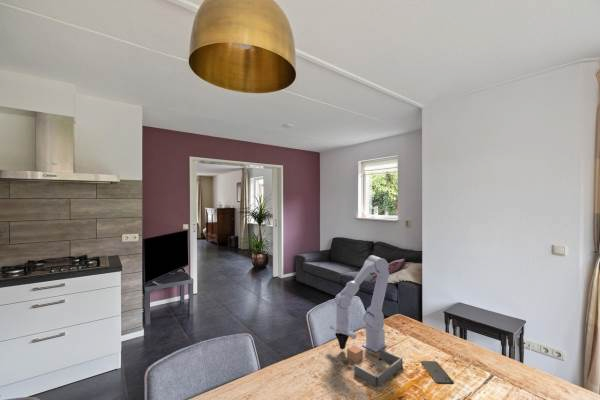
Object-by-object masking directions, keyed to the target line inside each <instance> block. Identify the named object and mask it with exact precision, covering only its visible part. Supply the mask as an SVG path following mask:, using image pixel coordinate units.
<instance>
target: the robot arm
mask: <svg viewBox="0 0 600 400" xmlns="http://www.w3.org/2000/svg"><path fill="white" fill-rule="evenodd" d="M389 266H390V265H389V263H388V261H387V260H386V259H385V258H383V257H382V258H381V257H379V256H376V255H374V254H373V255H371V254H370V255H369V256H368V257H367V259H366V260H365V261H364V263H363V265H362V267H361V268H360V270H359V272H358V273H357V274H356V276H355V278H354V279H353V280H349V281H348V282H346V284H345V287H344V288H343V289H342V290H341V291H340V292H339V293H337V294H336V295H335V298H334V299H333V300H334V302H335V304H336V324H335V323H330V324H329V329H330V330H333V331H335V334H334V335H335V336H336V337H335V338H336V339H337V341H338V344H339V349H341V350H343V351H344V349H345V348H346V345H347V342H348V339H349V338H351V339H352V340H354V339H356V338H357V333H355V332H354V331H353V330H351V329H350V328H349V323H350V321H349V312H350V311H349V310H350V309H349V307H351V304H352V300H353V298H354V297H355V295H356V294H357V292H359V290H360V285H361V284H362V283H363V282H364V280H365V279H366V278H367V277H368V275H370V274H374V273H375V275H376V280H375V284H374V290H373V294H372V298H371V302H370V306H368V307H367V308H366V311H365V312H364V314H363V318H362V319H363V322H364V324H365V343H363V344H362V345H361V346H362V347H364V348H367V349H369V350H371V351H373V352H375V353H377V352H379V349H382V350H383V348H385V347H386V346H387V344H386V342H385V341H386V340H385V338H386V335H385V334H386V333H385V329H384V326H385V321H384V319H385V316H384V314H383V311H382V309H383V305H384V300H385V297H386V291H387V287H388V283H389V278H390V271H389Z"/></svg>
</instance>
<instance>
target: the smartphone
mask: <svg viewBox="0 0 600 400" xmlns="http://www.w3.org/2000/svg"><path fill="white" fill-rule="evenodd" d="M420 363H421V365H422V366H423V368H424V369H425V371H426V372H427V373H428V375H429V376H430V377H431V379H432V380H433V381H434V383H436V384H440V385H453V384H454V385H455V381H453V379H452V378H451V377H450V376H449V374H448V373H447V372H446V371H445V369H444V368H443V367H442V365H440V364H439V363H438V361H436V360H435V361H434V360H422V361H420Z"/></svg>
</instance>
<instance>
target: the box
mask: <svg viewBox="0 0 600 400" xmlns="http://www.w3.org/2000/svg"><path fill="white" fill-rule="evenodd" d="M378 355H379V358H381V359H383V360H385V361H387V362H389V363H391V365H388V367H386V368H384V370H381V372H380V373H378V374H376V375H375V374H374V373H373V372H370V371H368V370H366V369H365V368H362V367H361V366H359V365H357V364H354V366H353V367H354V368H353V370H354V371H353V375H356V376H357V377H359V378H361V379H362V380H364V381H366V382H368V383H369V384H371V385H373V386H375V387H376V388H378V387H379V386H380V385H381V384H383V383H384V382H385V381H387V380H388V379H389V378H390V377H392V376H393V375H394V374H395V373H397V372H398V371H399V370H400V369H401V368H403V358H402V357H400V356H398V355H395V354H393V353H391V352H389V351H387V350H384V349H383V348H382V349H379V351H378Z"/></svg>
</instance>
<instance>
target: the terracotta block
mask: <svg viewBox="0 0 600 400" xmlns="http://www.w3.org/2000/svg"><path fill="white" fill-rule="evenodd" d="M363 350H364V349H362V348H361V347H358V346H356V345H351V346H350V347H347V349H346V358H347V359H349V360H351V361H352V362H354V363H357V362H359V361H360V360H362V359H364V356H363V355H364V354H363V353H364V351H363Z"/></svg>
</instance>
